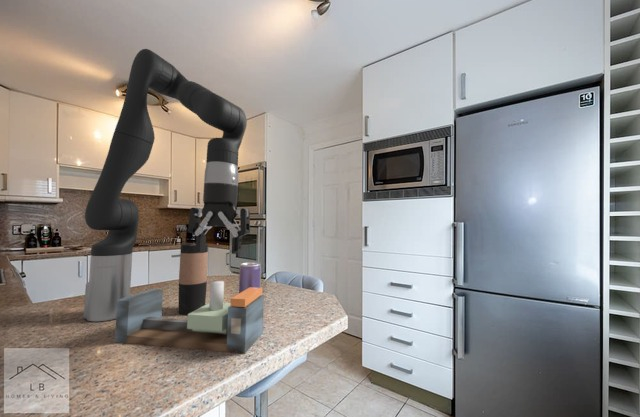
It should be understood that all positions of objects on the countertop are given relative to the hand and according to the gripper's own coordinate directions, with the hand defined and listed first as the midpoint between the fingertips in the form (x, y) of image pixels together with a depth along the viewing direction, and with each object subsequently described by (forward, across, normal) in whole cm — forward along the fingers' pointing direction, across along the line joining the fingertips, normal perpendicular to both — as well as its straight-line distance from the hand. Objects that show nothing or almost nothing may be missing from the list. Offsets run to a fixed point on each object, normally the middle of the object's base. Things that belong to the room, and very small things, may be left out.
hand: (217, 252), depth 59 cm
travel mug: (+20, +17, -16) cm, 31 cm away
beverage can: (+20, -2, -14) cm, 24 cm away
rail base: (+20, +6, 0) cm, 21 cm away
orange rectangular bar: (+10, -8, 0) cm, 13 cm away
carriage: (+17, 0, 0) cm, 17 cm away
